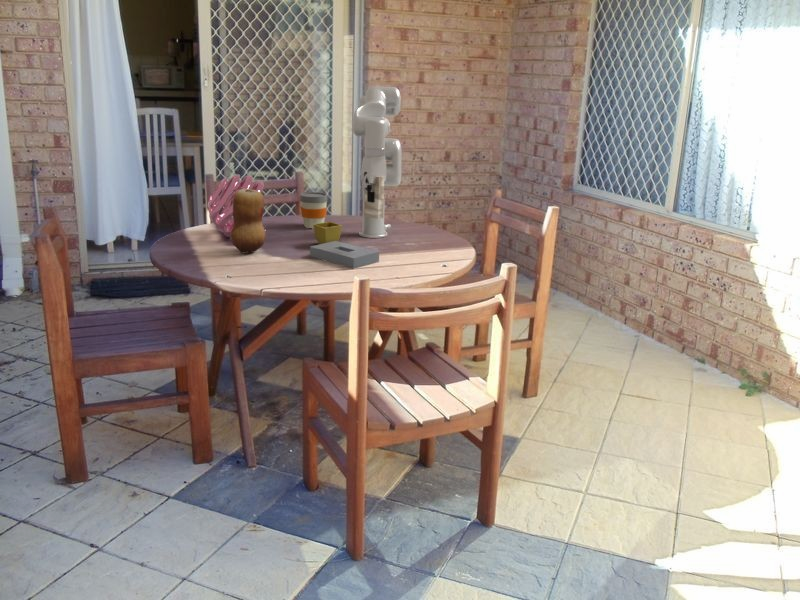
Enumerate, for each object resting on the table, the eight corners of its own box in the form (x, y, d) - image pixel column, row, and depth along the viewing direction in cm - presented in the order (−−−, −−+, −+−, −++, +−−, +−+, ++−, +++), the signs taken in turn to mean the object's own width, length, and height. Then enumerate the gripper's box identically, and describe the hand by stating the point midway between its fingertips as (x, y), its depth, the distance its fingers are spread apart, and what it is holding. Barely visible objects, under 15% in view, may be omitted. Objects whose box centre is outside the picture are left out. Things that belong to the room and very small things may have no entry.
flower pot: (324, 249, 301) (324, 227, 298) (312, 245, 307) (312, 223, 304) (342, 246, 306) (342, 225, 304) (330, 242, 313) (330, 221, 310)
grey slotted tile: (335, 250, 300) (335, 240, 298) (378, 261, 285) (379, 251, 284) (310, 256, 290) (310, 246, 288) (353, 268, 275) (353, 258, 274)
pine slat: (369, 214, 286) (370, 173, 281) (383, 217, 282) (384, 176, 277) (364, 216, 284) (365, 174, 279) (378, 218, 280) (379, 176, 274)
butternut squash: (263, 256, 288) (261, 193, 280) (229, 256, 287) (225, 192, 279) (267, 247, 301) (265, 187, 293) (234, 247, 300) (231, 186, 292)
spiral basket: (289, 187, 325) (235, 152, 315) (282, 215, 301) (224, 178, 292) (256, 233, 336) (203, 200, 327) (247, 263, 313) (190, 229, 303)
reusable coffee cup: (323, 230, 333) (322, 197, 328) (296, 228, 335) (296, 196, 330) (331, 224, 344) (330, 193, 340) (305, 223, 347) (305, 191, 342)
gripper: (381, 150, 283) (380, 197, 289) (352, 153, 271) (352, 202, 277) (396, 152, 279) (395, 200, 285) (367, 155, 267) (367, 205, 273)
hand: (374, 200), depth 281 cm, fingers closed on pine slat, 3 cm apart
